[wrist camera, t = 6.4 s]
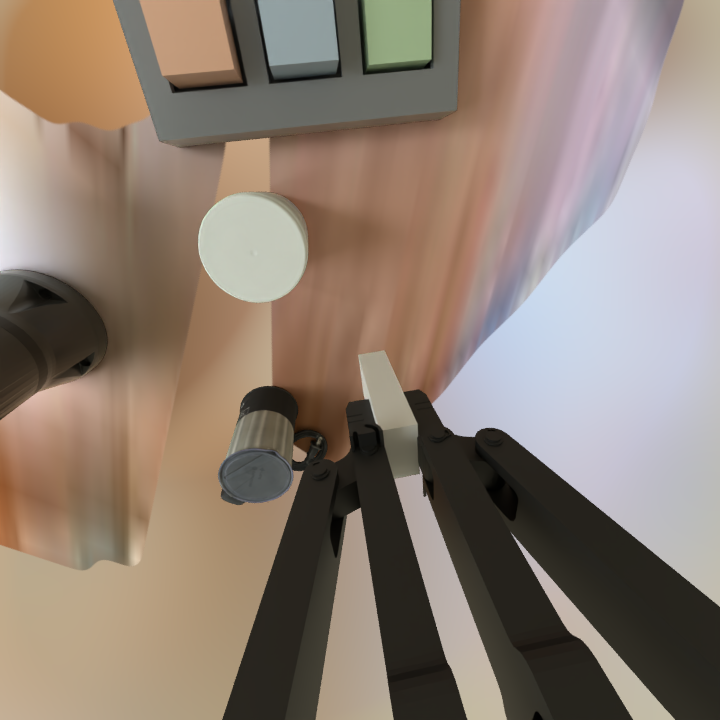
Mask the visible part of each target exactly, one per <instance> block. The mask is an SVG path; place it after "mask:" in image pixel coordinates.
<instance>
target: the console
mask: <svg viewBox="0 0 720 720" xmlns="http://www.w3.org/2000/svg"><path fill="white" fill-rule="evenodd" d="M113 2H114V5H115V8H116V11H117V14H118V17H119V20H120V23H121V27H122V30H123V32H124V36H125V39H126V42H127V44H128V48H129V51H130V54H131V57H132V60H133V63H134V66H135V69H136V72H137V75H138V78H139V81H140V84H141V87H142V90H143V93H144V96H145V99H146V102H147V105H148V108H149V111H150V114H151V117H152V120H153V123H154V126H155V129H156V133H157V136H158V139H159V141H161V142H164V143H167V144H170V145H173V146H176V147H184V146H193V145H203V144H212V143H222V142H230V141H241V140H250V139H260V138H269V137H279V136H288V135H298V134H307V133H317V132H326V131H336V130H345V129H355V128H364V127H374V126H383V125H393V124H402V123H412V122H421V121H431V120H440V119H442V118H444V117H446V116H448V115H449V114H451V113H453V112H455V111H456V110H457V94H458V63H459V31H460V0H432V25H431V60H430V61H429V62H428V63H427V65H426V66H425V67H424V68H423V69H422V70H412V71H401V72H391V73H380V74H370V75H363V68H362V54H361V41H360V28H359V15H358V1H357V0H333V8H334V18H335V28H336V38H337V48H338V58H339V61H338V66H337V71H336V74H332V75H321V76H311V77H300V78H290V79H279V80H274V77H273V74H272V72H271V69H270V66H269V60H268V55H267V49H266V44H265V38H264V33H263V27H262V21H261V16H260V10H259V5H258V0H226V4H227V9H228V14H229V18H230V23H231V28H232V32H233V37H234V42H235V47H236V51H237V56H238V61H239V65H240V70H241V75H242V80H243V83H237V84H226V85H216V86H205V87H194V88H184V89H179V88H178V87H176V86H175V85H174V84H172V83H171V82H170V81H168V80H167V79H166V78H164V77H163V76H162V74H161V70H160V67H159V64H158V60H157V57H156V54H155V50H154V47H153V44H152V41H151V37H150V34H149V31H148V27H147V24H146V21H145V17H144V14H143V11H142V7H141V4H140V1H139V0H113Z"/></svg>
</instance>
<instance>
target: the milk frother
mask: <svg viewBox="0 0 720 720" xmlns="http://www.w3.org/2000/svg"><path fill="white" fill-rule="evenodd" d="M297 414H298V405H297V402H296V400H295V399H294V397H293V396H292V395H291V394H290V393H288V392H287V391H286V390H284V389H281V388H278V387H273V386H264V387H259V388H256V389H253V390H252V391H251V392H249V393H248V394H247V395H246V396H245V397H244V398H243V400H242V402H241V407H240V415H239V419H238V421H237V424H236V428H235V430H234V434H233V437H232V440H231V443H230V446H229V449H228V453H227V456H226V459H225V460H224V461H223V463H222V464H221V466H220V469H219V472H218V479H219V482H220V485H221V487H222V492H221V498H222V499H223V500H225V501H227V502H229V503H232V504H236V505H242V504H243V503H245V502H249V503H262V502H267V501H271V500H274V499H276V498H278V497H280V496H282V495H283V494H284V493H285V492H286V491H288V489H289V488H290V486H291V484H292V481H293V470H294V471H303V470H305V468H306V467H307V466H308V465H309V464H310V463H312V462H314V461H316V460H320V459H323V458H324V457H325V455H326V452H327V442H326V439H325V438H324V437H323V435H321V434H320V433H318V432H316V431H313V430H302V431H298V432H297V433H295V434H294V428H295V420H296V418H297ZM304 437H313V438H316V442H315V441H311V446H310V448H309V451H308V452H307V457H306V458H305V460H304V461H302V462H296V461H294V460H293V459H292V456H293V443H294V442H295V441H297V440H299V439H301V438H304ZM318 450H320V451H319V453H318V454H317V452H318ZM316 454H317V456H316V457H315V458H314V456H315V455H316Z"/></svg>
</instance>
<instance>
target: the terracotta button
mask: <svg viewBox="0 0 720 720" xmlns="http://www.w3.org/2000/svg"><path fill="white" fill-rule="evenodd" d="M139 1H140V4H141V7H142V11H143V14H144V17H145V21H146V24H147V27H148V31H149V34H150V37H151V41H152V44H153V47H154V50H155V54H156V57H157V60H158V64H159V67H160V70H161V74H162V76H163V77H164V78H166V79H167V80H168V81H170V82H171V83H172V84H174V85H175V86H176V87H178V88H179V89H184V88H194V87H205V86H216V85H226V84H237V83H243V80H242V75H241V70H240V65H239V61H238V56H237V51H236V47H235V42H234V37H233V32H232V28H231V23H230V18H229V14H228V9H227V4H226V0H139Z"/></svg>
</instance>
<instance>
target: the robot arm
mask: <svg viewBox="0 0 720 720" xmlns="http://www.w3.org/2000/svg"><path fill="white" fill-rule="evenodd" d="M106 348H107V335H106V330H105V327H104V324H103V322H102V320H101V318H100V316H99V315H98V313H97V312H96V310H95V309H94V308H93V307H92V305H91V304H90V303H89V302H88V301H87V300H86V299H85V298H84V297H83V296H82V295H80V294H79V293H78V292H77V291H75V290H74V289H72V288H71V287H70V286H68V285H66V284H64V283H63V282H61V281H59V280H57V279H55V278H52V277H50V276H47V275H44V274H41V273H37V272H32V271H26V270H6V271H1V272H0V420H1V419H2V418H4V417H5V416H6V415H8V414H9V413H10V412H12V411H13V410H14V409H15V408H17V407H18V406H19V405H21V404H22V403H23V402H25V401H26V400H27V399H29V398H30V397H31V396H33V395H34V394H35V393H37V392H39V391H42V390H45V389H49V388H52V387H55V386H59V385H62V384H65V383H69V382H72V381H74V380H77V379H79V378H81V377H82V376H84V375H86V374H87V373H88V372H89V371H91V370H92V369H93V368H94V367H96V366H97V365H98V364H99V363H100V361H101V360H102V359H103V357H104V355H105V352H106ZM358 356H359V364H360V371H361V378H362V386H363V393H364V398H365V400H359V401H354V402H349V403H348V406H347V408H346V414H347V421H348V427H349V434H350V436H349V437H350V443H351V449H350V452H349V453H348V454H347V455H346V456H345V457H344V458H343V459H341V460H339V461H337V462H335V463H334V462H332V461H331V460H327V459H320V460H316V461H314V462H312V463H310V464H309V465H308V466H307V467H306V468H305V470H304V472H303V474H302V478H301V480H300V484H299V487H298V490H297V493H296V496H295V499H294V502H293V505H292V508H291V511H290V514H289V517H288V520H287V523H286V526H285V529H284V533H283V536H282V539H281V542H280V545H279V548H278V551H277V554H276V557H275V560H274V563H273V566H272V569H271V572H270V575H269V579H268V581H267V585H266V588H265V591H264V594H263V597H262V600H261V603H260V606H259V609H258V612H257V615H256V618H255V621H254V624H253V628H252V630H251V633H250V637H249V640H248V643H247V646H246V649H245V652H244V655H243V658H242V661H241V664H240V667H239V670H238V674H237V676H236V679H235V682H234V685H233V689H232V692H231V695H230V698H229V701H228V704H227V707H226V710H225V713H224V716H223V719H222V720H315V719H316V712H317V705H318V699H319V693H320V686H321V680H322V674H323V667H324V661H325V654H326V648H327V641H328V635H329V628H330V621H331V615H332V609H333V603H334V596H335V590H336V583H337V577H338V570H339V564H340V558H341V551H342V545H343V538H344V532H345V525H346V518H347V515H348V514H349V513H351V512H353V511H355V510H357V509H359V508H361V512H362V518H363V525H364V530H365V537H366V543H367V550H368V556H369V563H370V569H371V575H372V581H373V588H374V595H375V601H376V607H377V614H378V620H379V627H380V633H381V639H382V646H383V652H384V658H385V665H386V671H387V678H388V686H389V692H390V699H391V705H392V711H393V717H394V720H467V718H466V714H465V711H464V707H463V704H462V701H461V698H460V694H459V690H458V687H457V684H456V681H455V678H454V676H453V673H452V670H451V668H450V666H449V665H448V663H447V660H446V658H445V655H444V651H443V648H442V644H441V641H440V637H439V634H438V631H437V627H436V623H435V620H434V617H433V613H432V610H431V606H430V603H429V599H428V596H427V592H426V589H425V585H424V582H423V579H422V575H421V571H420V568H419V564H418V561H417V557H416V554H415V550H414V547H413V543H412V540H411V537H410V533H409V530H408V526H407V522H406V519H405V516H404V512H403V509H402V505H401V502H400V499H399V495H398V491H397V488H396V484H395V481H394V479H395V478H400V477H406V476H411V475H416V474H420V470H419V466H420V469H421V471H422V474H423V494H424V497H425V496H426V493H427V495H428V498H429V501H430V503H431V506H432V509H433V511H434V513H435V517H436V519H437V522H438V525H439V527H440V530H441V532H442V535H443V538H444V541H445V543H446V546H447V549H448V551H449V554H450V557H451V559H452V562H453V564H454V567H455V570H456V573H457V575H458V578H459V581H460V583H461V586H462V589H463V591H464V594H465V597H466V599H467V602H468V604H469V607H470V610H471V613H472V615H473V618H474V621H475V623H476V626H477V629H478V631H479V634H480V637H481V639H482V642H483V645H484V647H485V650H486V653H487V655H488V658H489V661H490V663H491V666H492V669H493V671H494V674H495V677H496V679H497V682H498V685H499V688H500V691H501V695H502V699H503V704H504V709H505V714H506V717H507V720H633V719H632V717H631V716H630V714H629V712H628V711H627V709H626V707H625V706H624V704H623V702H622V701H621V699H620V698H619V696H618V694H617V692H616V691H615V689H614V687H613V686H612V684H611V683H610V681H609V679H608V678H607V676H606V674H605V673H604V671H603V669H602V668H601V666H600V664H599V663H598V661H597V659H596V658H595V656H594V655H593V653H592V652H591V651H590V649H589V648H588V647H587V646H586V644H585V643H584V642H583V641H582V640H581V639H579V638H577V637H575V636H573V635H571V633H570V632H569V631H568V630H567V629H566V627H565V626H564V624H563V623H562V621H561V619H560V617H559V616H558V614H557V612H556V610H555V609H554V607H553V605H552V603H551V602H550V600H549V598H548V597H547V595H546V593H545V591H544V590H543V588H542V586H541V584H540V583H539V581H538V579H537V577H536V576H535V574H534V572H533V571H532V569H531V567H530V565H529V564H528V562H527V560H526V558H525V557H524V555H523V553H522V551H521V550H520V548H519V546H518V545H517V543H516V541H515V539H514V538H513V536H512V534H513V535H514V536H515V537H516V539H517V540H518V541H519V542H520V543H521V544H522V545H523V547H524V548H525V549H526V550H527V551H528V552H529V553H530V555H531V556H532V557H533V558H534V559H535V560H536V561H537V563H538V564H539V565H540V566H541V567H542V568H543V569H544V571H546V573H547V574H548V575H549V576H550V577H551V579H552V580H553V581H554V582H555V583H556V584H557V585H558V587H559V588H560V589H561V590H562V591H563V592H564V593H565V595H566V596H567V597H568V598H569V599H570V600H571V601H572V603H573V604H574V605H575V606H576V607H577V608H578V609H579V611H580V612H581V613H582V614H583V615H584V616H585V617H586V619H587V620H588V621H589V622H590V623H591V624H592V625H593V627H594V628H595V629H596V630H597V631H598V632H599V633H600V634H601V636H602V637H603V638H604V639H605V640H606V641H607V642H608V644H609V645H610V646H611V647H612V648H613V649H614V651H615V652H616V653H617V654H618V655H619V656H620V657H621V659H622V660H623V661H624V662H625V663H626V664H627V665H628V667H629V668H630V669H631V670H632V671H633V672H634V673H635V675H636V676H637V677H638V678H639V679H640V680H641V681H642V683H643V684H644V685H645V686H646V687H647V688H648V689H649V691H650V692H651V693H652V694H653V695H654V696H655V697H656V699H657V700H658V701H659V702H660V703H661V704H662V705H663V707H664V708H665V709H666V710H667V711H668V712H669V713H670V714H671V715H672V716H673V718H674V719H675V720H720V607H719V606H718V605H717V604H716V603H714V602H713V601H712V600H711V599H709V598H708V597H707V596H706V595H705V594H703V593H702V592H701V591H699V590H698V589H697V588H696V587H695V586H693V585H692V584H691V583H690V582H689V581H687V580H686V579H685V578H684V577H682V576H681V575H680V574H679V573H677V572H676V571H675V570H674V569H673V568H671V567H670V566H669V565H668V564H666V563H665V562H664V561H663V560H661V559H660V558H659V557H658V556H657V555H655V554H654V553H653V552H652V551H650V550H649V549H648V548H647V547H646V546H644V545H643V544H642V543H641V542H639V541H638V540H637V539H636V538H635V537H633V536H632V535H631V534H629V533H628V532H627V531H626V530H624V529H623V528H622V527H621V526H620V525H618V524H617V523H616V522H615V521H614V520H612V519H611V518H610V517H609V516H607V515H606V514H605V513H604V512H602V511H601V510H600V509H599V508H597V507H596V506H595V505H594V504H593V503H591V502H590V501H589V500H588V499H587V498H585V497H584V496H583V495H582V494H580V493H579V492H578V491H577V490H575V489H574V488H573V487H572V486H571V485H569V484H568V483H567V482H566V481H564V480H563V479H562V478H561V477H560V476H558V475H557V474H556V473H555V472H553V471H552V470H551V469H550V468H548V467H547V466H546V465H545V464H544V463H542V462H541V461H540V460H539V459H537V458H536V457H535V456H534V455H532V454H531V453H530V452H529V451H528V450H526V449H525V448H524V447H523V446H521V445H520V444H519V443H518V442H517V441H515V440H514V439H513V438H512V437H510V436H509V435H508V434H507V433H505V432H503V431H502V430H499V429H495V428H485V429H481V430H480V431H478V432H477V433H476V435H475V437H463V436H458V435H454V433H453V432H452V431H451V430H450V429H448V428H446V427H444V426H443V424H442V422H441V420H440V419H439V417H438V415H437V413H436V411H435V410H434V408H433V406H432V404H431V402H430V401H429V399H428V397H427V395H426V394H425V393H423V392H422V391H420V390H413V391H407V392H403V391H402V388H401V386H400V384H399V382H398V379H397V377H396V375H395V373H394V371H393V368H392V366H391V364H390V362H389V360H388V357H387V355H386V353H385V351H378V352H372V353H366V354H360V355H358ZM511 533H512V534H511Z"/></svg>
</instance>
